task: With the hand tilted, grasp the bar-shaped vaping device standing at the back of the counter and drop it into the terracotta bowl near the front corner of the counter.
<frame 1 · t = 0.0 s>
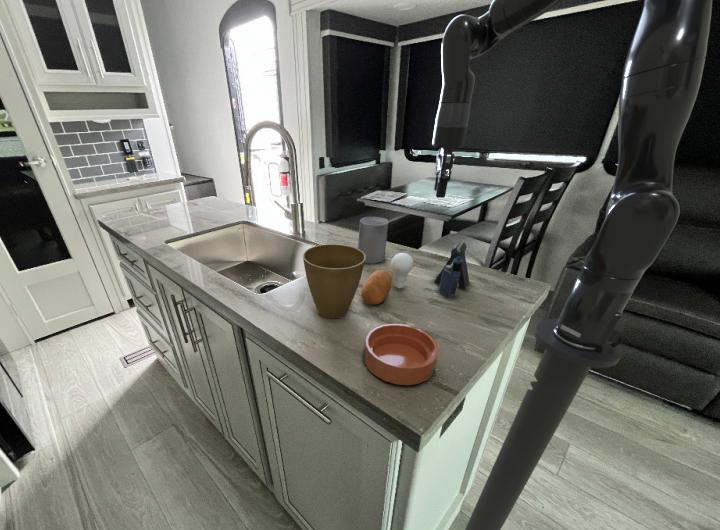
hand: (438, 193, 86), 26 cm above the worktop, tool pointing down, fingers open, 8 cm apart
lightbulb: (398, 288, 95), on the worktop
vaping device: (446, 294, 92), on the worktop
potato: (376, 297, 91), on the worktop
plant pot: (333, 312, 84), on the worktop
phone stand: (451, 283, 98), on the worktop
bowl: (398, 362, 67), on the worktop
pillar candle: (370, 259, 115), on the worktop
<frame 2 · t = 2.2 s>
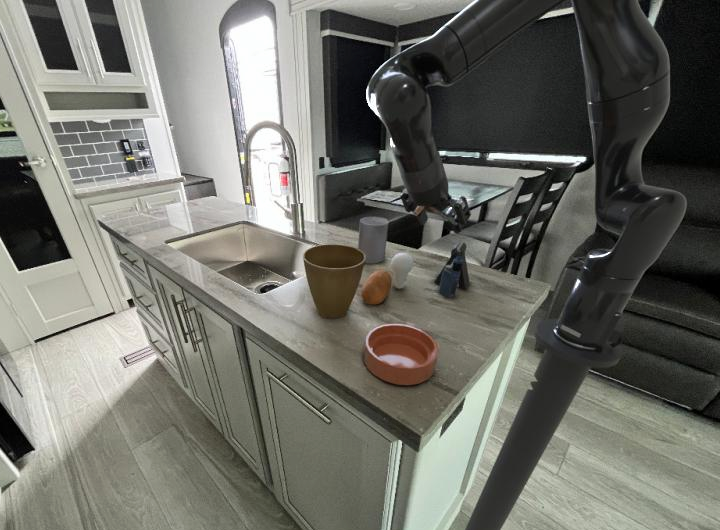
hand: (441, 226, 73), 23 cm above the worktop, tool tilted 40°, fingers open, 8 cm apart
nothing on the worktop moved.
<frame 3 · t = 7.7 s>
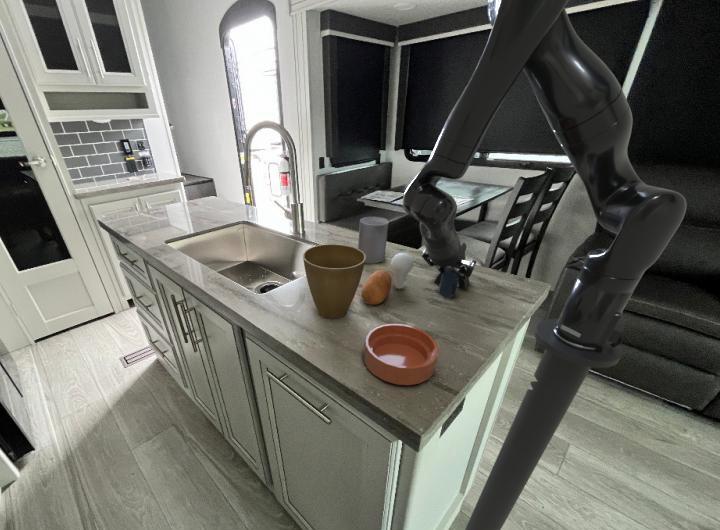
hand: (453, 274, 90), 6 cm above the worktop, tool tilted 45°, fingers closed on vaping device, 5 cm apart
vaping device: (446, 294, 92), on the worktop, touching gripper
everything else where it was.
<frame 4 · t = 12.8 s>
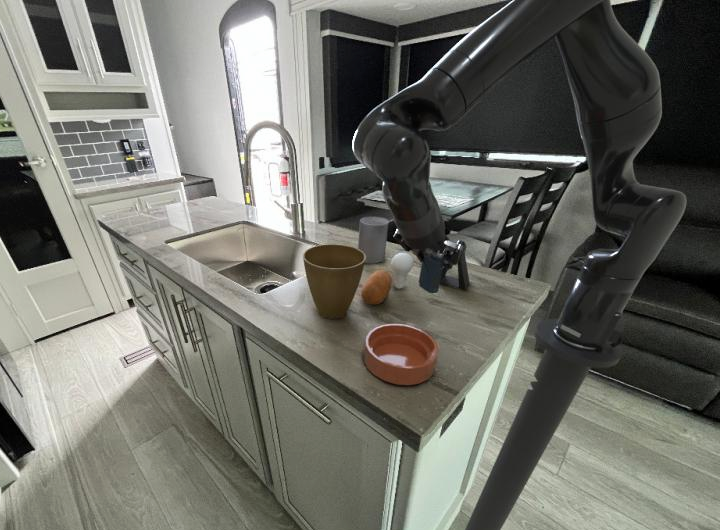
hand: (436, 262, 69), 17 cm above the worktop, tool tilted 45°, fingers closed on vaping device, 5 cm apart
vaping device: (427, 289, 71), point 11 cm above the worktop, touching gripper
everything else where it was.
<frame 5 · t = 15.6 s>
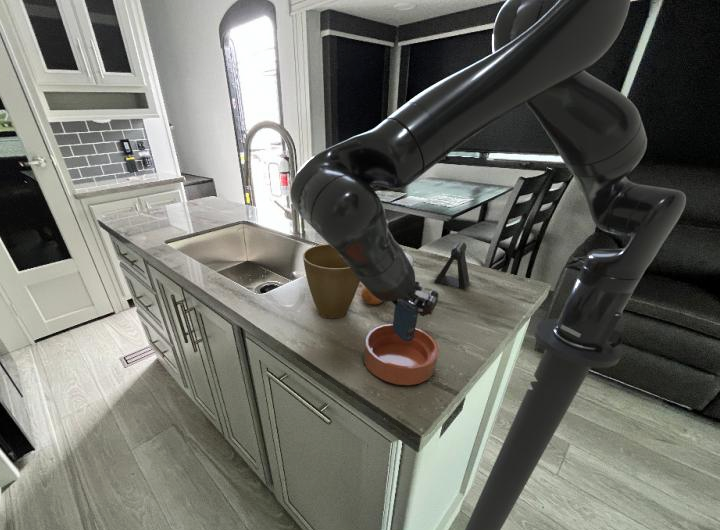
hand: (411, 306, 61), 13 cm above the worktop, tool tilted 45°, fingers closed on vaping device, 5 cm apart
vaping device: (402, 335, 63), point 7 cm above the worktop, touching gripper
everything else where it was.
when the fingers open (6 cm above the worktop, at t = 17.9 s): vaping device stays where it is, resting on bowl.
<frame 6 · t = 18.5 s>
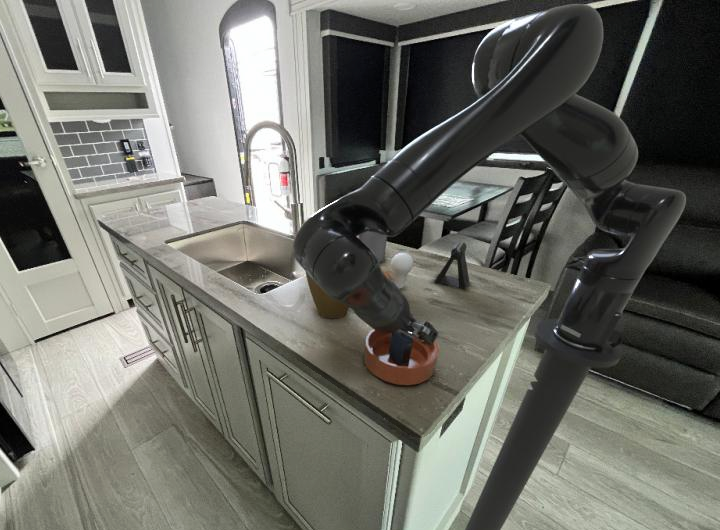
hand: (406, 330, 64), 8 cm above the worktop, tool tilted 45°, fingers open, 8 cm apart
vaping device: (398, 361, 67), point 1 cm above the worktop, touching bowl
everything else where it was.
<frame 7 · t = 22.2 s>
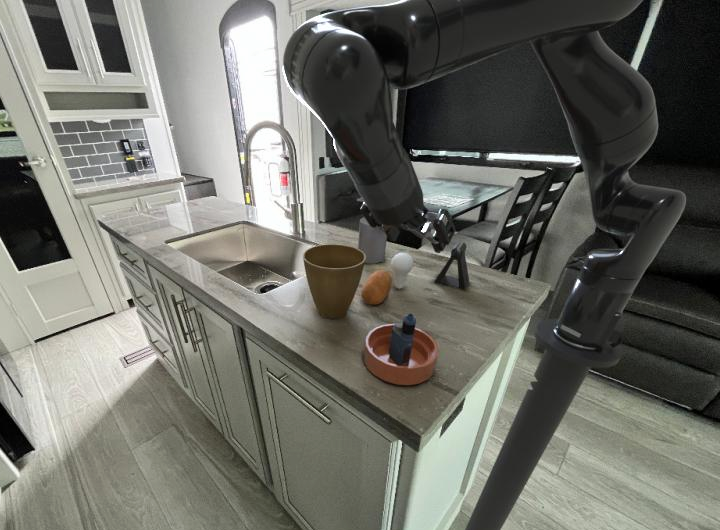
hand: (416, 242, 56), 25 cm above the worktop, tool tilted 45°, fingers open, 8 cm apart
nothing on the worktop moved.
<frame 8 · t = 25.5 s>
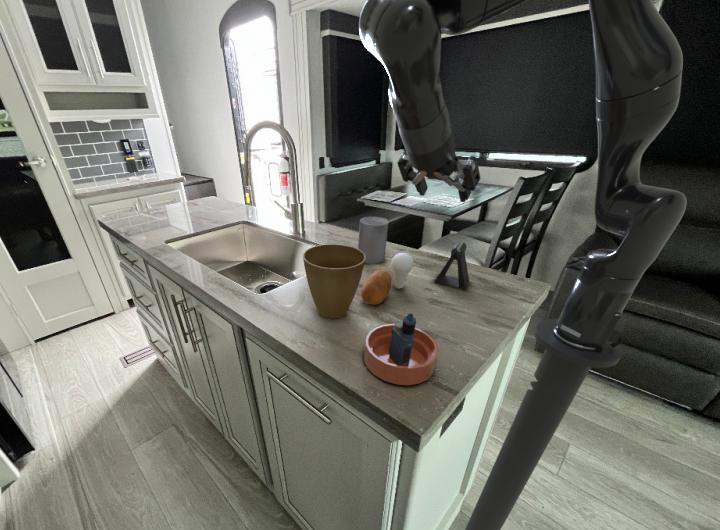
hand: (443, 195, 65), 31 cm above the worktop, tool tilted 45°, fingers open, 8 cm apart
nothing on the worktop moved.
at the end: vaping device inside the target area in the bowl (0.2 cm from its centre), point 0.6 cm above the bowl's base; the gripper is holding nothing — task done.
